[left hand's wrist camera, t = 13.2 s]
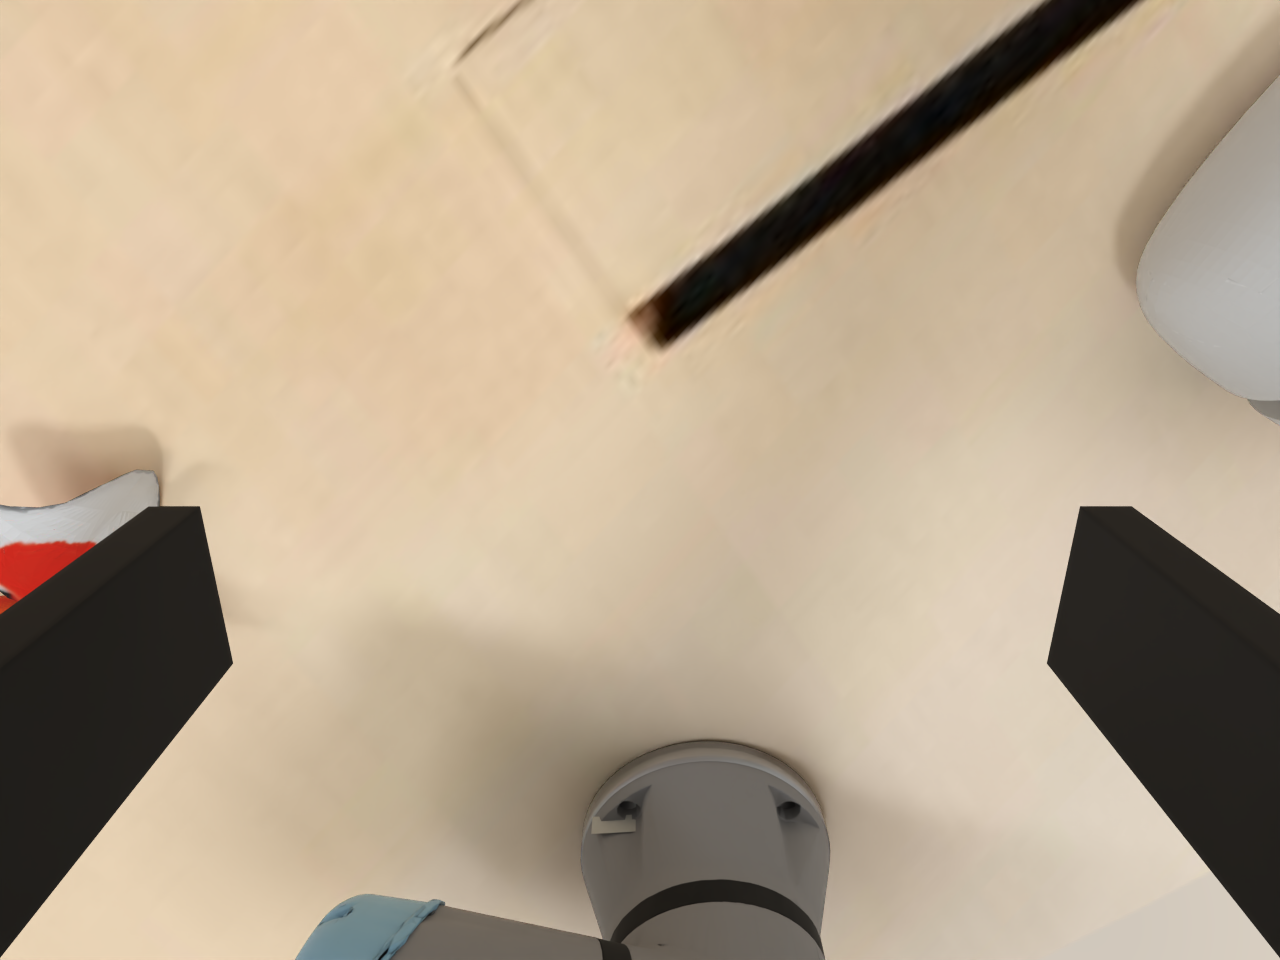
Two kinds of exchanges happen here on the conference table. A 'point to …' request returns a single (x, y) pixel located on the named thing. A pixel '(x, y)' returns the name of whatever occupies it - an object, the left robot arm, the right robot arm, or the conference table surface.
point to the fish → (65, 531)
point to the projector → (1224, 262)
